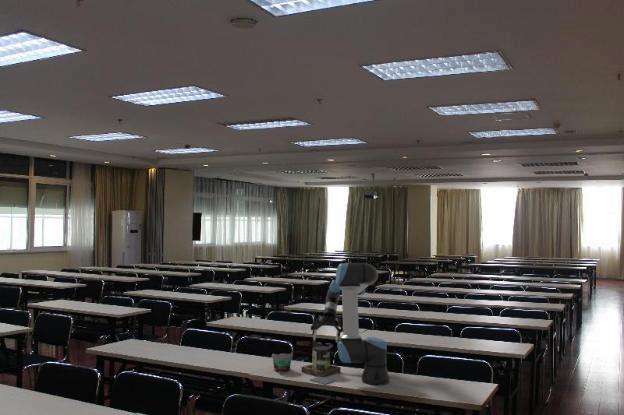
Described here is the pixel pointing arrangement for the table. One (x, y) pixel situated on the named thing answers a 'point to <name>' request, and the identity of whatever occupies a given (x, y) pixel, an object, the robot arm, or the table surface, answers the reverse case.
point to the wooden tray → (318, 373)
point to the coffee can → (321, 358)
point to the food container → (282, 362)
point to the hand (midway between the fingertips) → (325, 340)
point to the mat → (322, 380)
